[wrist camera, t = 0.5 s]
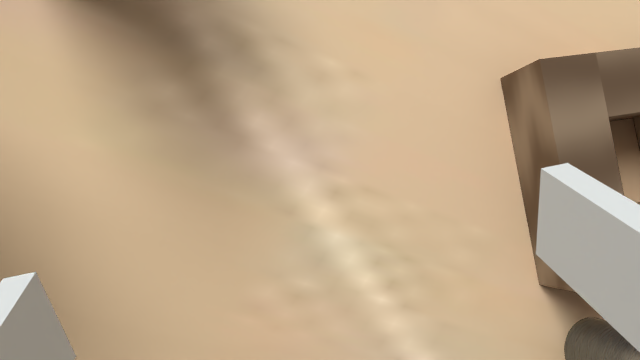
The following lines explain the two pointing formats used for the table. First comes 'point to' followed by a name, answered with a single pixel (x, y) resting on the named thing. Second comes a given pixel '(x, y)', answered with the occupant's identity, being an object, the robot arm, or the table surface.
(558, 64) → the socket
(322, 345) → the table surface
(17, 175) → the table surface
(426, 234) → the table surface
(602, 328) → the peg
